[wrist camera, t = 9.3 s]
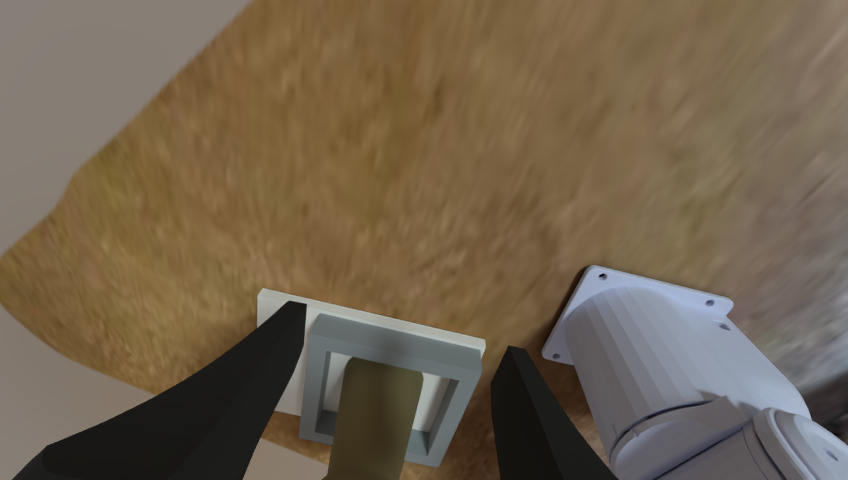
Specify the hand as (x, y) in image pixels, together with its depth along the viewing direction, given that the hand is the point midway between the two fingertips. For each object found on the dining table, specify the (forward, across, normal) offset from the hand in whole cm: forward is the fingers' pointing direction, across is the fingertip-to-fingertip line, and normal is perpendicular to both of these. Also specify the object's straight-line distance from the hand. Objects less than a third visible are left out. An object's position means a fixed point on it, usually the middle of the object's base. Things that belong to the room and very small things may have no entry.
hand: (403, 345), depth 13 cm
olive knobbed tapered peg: (+10, 0, +13) cm, 17 cm away
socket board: (+10, +2, +14) cm, 18 cm away
